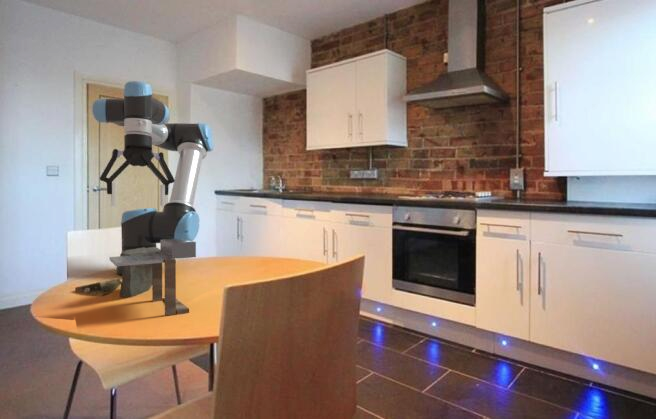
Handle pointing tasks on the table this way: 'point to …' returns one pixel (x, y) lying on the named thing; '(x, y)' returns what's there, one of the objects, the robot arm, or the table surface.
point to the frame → (167, 287)
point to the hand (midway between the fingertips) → (138, 206)
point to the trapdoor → (160, 253)
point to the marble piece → (137, 274)
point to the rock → (99, 287)
